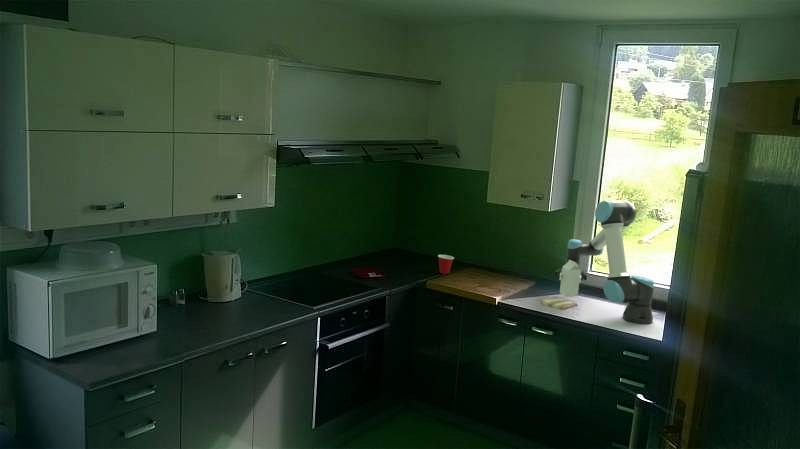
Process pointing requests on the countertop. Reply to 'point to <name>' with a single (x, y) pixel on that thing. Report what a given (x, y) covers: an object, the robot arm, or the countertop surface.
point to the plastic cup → (445, 263)
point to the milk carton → (570, 279)
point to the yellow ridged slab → (559, 303)
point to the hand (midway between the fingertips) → (570, 279)
